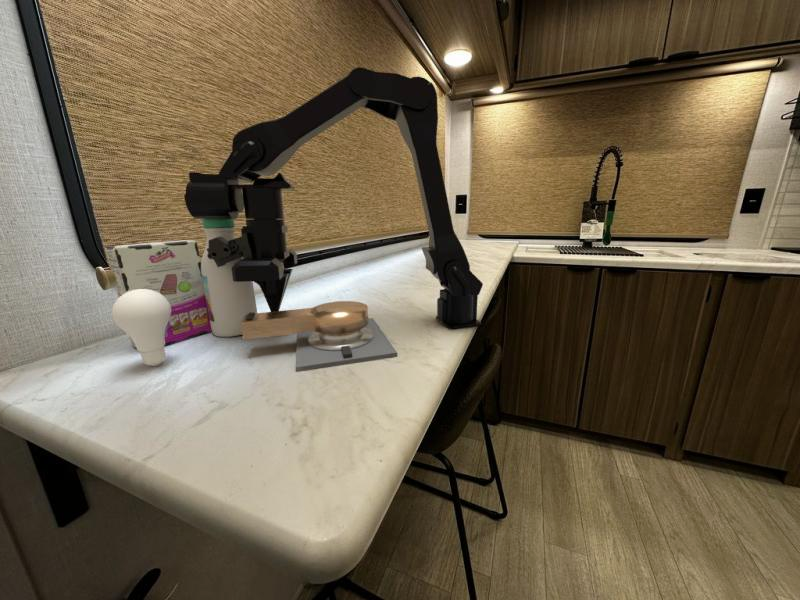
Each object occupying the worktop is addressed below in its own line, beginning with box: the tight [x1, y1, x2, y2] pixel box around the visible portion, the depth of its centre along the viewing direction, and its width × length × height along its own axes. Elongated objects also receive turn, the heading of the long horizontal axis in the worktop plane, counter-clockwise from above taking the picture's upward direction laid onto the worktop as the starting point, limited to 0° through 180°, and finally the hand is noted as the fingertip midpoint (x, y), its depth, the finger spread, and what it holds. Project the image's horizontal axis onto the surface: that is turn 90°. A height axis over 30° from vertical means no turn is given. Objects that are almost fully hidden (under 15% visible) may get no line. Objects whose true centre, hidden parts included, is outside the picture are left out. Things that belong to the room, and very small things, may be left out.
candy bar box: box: [103, 239, 212, 348], centre depth 52 cm, size 11×5×16 cm, turn 148°
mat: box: [295, 317, 398, 372], centre depth 51 cm, size 14×17×1 cm
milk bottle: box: [200, 219, 258, 338], centre depth 55 cm, size 8×8×20 cm
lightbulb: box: [111, 289, 171, 367], centre depth 43 cm, size 6×6×11 cm
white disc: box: [308, 327, 373, 351], centre depth 51 cm, size 10×10×2 cm
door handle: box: [241, 300, 369, 340], centre depth 49 cm, size 18×9×3 cm, turn 107°
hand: (275, 312), depth 54 cm, fingers closed
